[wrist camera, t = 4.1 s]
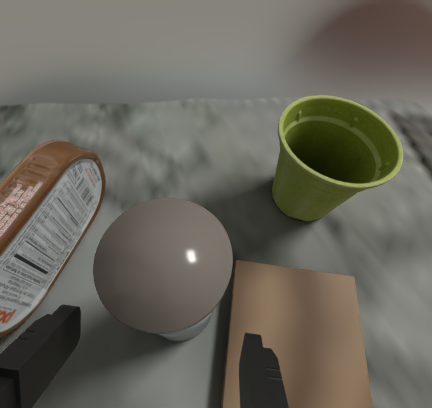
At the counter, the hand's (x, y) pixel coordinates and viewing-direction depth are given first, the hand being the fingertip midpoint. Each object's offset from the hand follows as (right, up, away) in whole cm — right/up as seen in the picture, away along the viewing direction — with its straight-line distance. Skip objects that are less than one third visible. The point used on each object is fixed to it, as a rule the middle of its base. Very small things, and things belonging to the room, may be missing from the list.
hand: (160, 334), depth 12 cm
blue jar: (0, -2, +9) cm, 9 cm away
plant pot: (+12, +7, +15) cm, 20 cm away
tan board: (+9, -5, +7) cm, 12 cm away
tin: (-11, +2, +10) cm, 15 cm away
